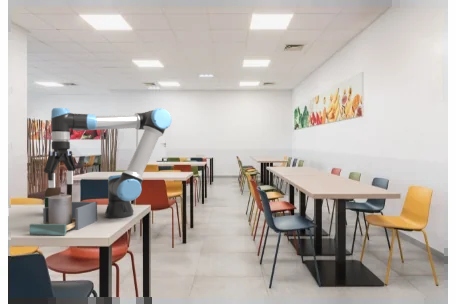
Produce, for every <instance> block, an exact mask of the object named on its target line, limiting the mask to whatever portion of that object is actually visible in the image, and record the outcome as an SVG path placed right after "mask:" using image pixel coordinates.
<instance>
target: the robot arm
mask: <svg viewBox="0 0 456 304" xmlns="http://www.w3.org/2000/svg"><path fill="white" fill-rule="evenodd" d="M50 115H51V117H50V120H51V122H50V123H51V124H50V125H51V149H52V150H53V151H51V150H49V151H48V158H47V160H46V164H45V167H44V169H43V171H44V173H45V174H47V181H48V185H47V188H55V182H56V172H55V170H56V169H57V166H58V165H59V163H60V162H63V163H64V166H65V167H66V185H73V184H74V172H75V171H76V169H77V167H76V163H75V161H74V156H73V152H72V150H70V149H71V144H70V143H71V142H70V140H71V137H70V136H71V135H70V134H71V130H73V131H76V132H81V131H95V130H98V131H99V130H119V129H123V130H124V129H135V130H137V131H138V130H140V131H141V130H144V131H143V134H142V136H141V138H140V140H139V142H138V145H137V146H136V149H135V150H134V153H133V155H132V158H131V159H130V161H129V164H128V167H127V169H126V170H124V171H122V173H121V174H114V175H110V176H108V179H107V180H108V181H107V184H108V185H107V186H108V187H107V189H108V190H107V191H108V193H107V194H108V196H107V197H108V199H107V201H108V202H107V206H106V210H105V214H104V217H105V218H108V219H121V218H128V217H131V216H134V208H133V206H132V204H131V202H132V201H134V200H136V199H138V197H140V195H141V193H142V183H143V181H144V178H143V175H144V172H145V169H146V168H147V165H148V162H149V161H150V159H151V156H152V154H153V152H154V149H155V147H156V145H157V143H158V140H159V138H160V137H163V136H164V134H165V131H166V129H168V128H169V127H170V126H171V124H172V116H171V114H170V112H169V111H168V110H167V109H164V108H155V109H153V110H148V111H145V112H139V113H137V112H136V113H135V114H129V115H122V114H121V115H95V114H90V113H72V112H70V109H69V108H64V107H54V108H52V109H51V114H50Z"/></svg>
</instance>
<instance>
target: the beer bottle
mask: <svg viewBox="0 0 456 304" xmlns="http://www.w3.org/2000/svg"><path fill="white" fill-rule="evenodd" d="M56 184H57V183H56V181H55V188H48V187H47V188H46V190H45V192H44V208H46V207H48V197H50V196H55V195H60V191H59V189H58V187H57V185H56Z"/></svg>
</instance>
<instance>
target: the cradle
mask: <svg viewBox="0 0 456 304" xmlns="http://www.w3.org/2000/svg"><path fill="white" fill-rule="evenodd" d="M72 218H76V227H74V228H71V229H69V230H68V231H79V230H81V229H83V228H85V227H87V226H89V225H91V224H93V223H96V222H97V221H98V201H72ZM42 221H43V222H42V224H43V223H46V222H49V209H48V207H46V208H45V207H43V208H42Z"/></svg>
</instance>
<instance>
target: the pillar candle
mask: <svg viewBox="0 0 456 304" xmlns="http://www.w3.org/2000/svg"><path fill="white" fill-rule="evenodd" d="M72 202H73V201H72V195H71V194H59V195H55V196H50V197H48V209H49V224H66V226H67V225H69V224H71V223H72Z"/></svg>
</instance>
